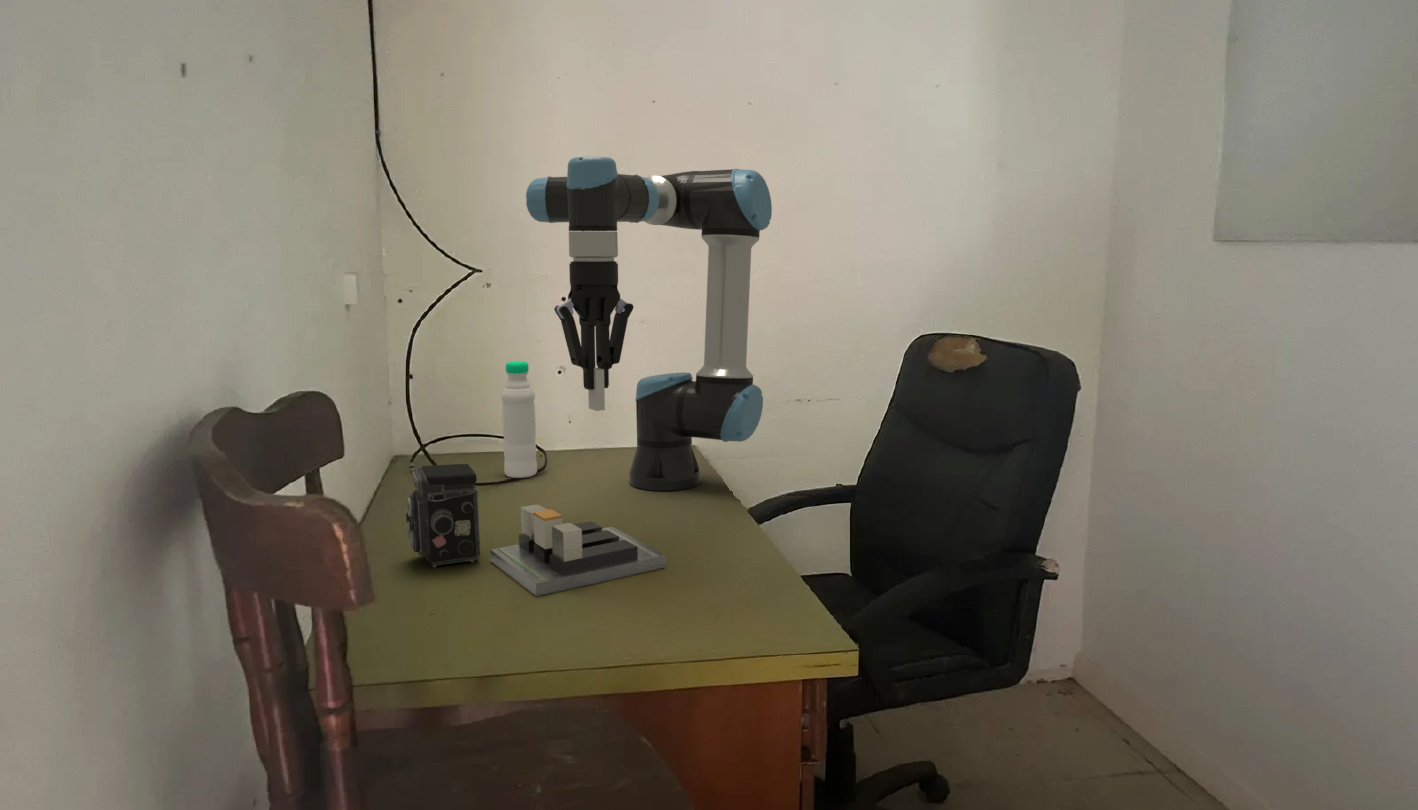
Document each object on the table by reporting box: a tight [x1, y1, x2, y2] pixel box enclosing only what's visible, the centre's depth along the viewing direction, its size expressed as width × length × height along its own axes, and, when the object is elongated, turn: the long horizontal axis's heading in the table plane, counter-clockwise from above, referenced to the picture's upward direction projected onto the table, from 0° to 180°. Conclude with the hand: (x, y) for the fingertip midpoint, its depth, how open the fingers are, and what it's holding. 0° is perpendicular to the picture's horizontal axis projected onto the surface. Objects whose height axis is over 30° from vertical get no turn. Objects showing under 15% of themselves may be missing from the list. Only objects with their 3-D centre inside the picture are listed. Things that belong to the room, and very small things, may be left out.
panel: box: [490, 504, 667, 597], centre depth 149 cm, size 22×18×8 cm
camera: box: [405, 463, 481, 568], centre depth 151 cm, size 10×10×15 cm
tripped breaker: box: [534, 508, 563, 549], centre depth 146 cm, size 3×4×5 cm
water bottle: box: [501, 360, 538, 479], centre depth 204 cm, size 7×7×25 cm
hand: (596, 409), depth 150 cm, fingers closed
